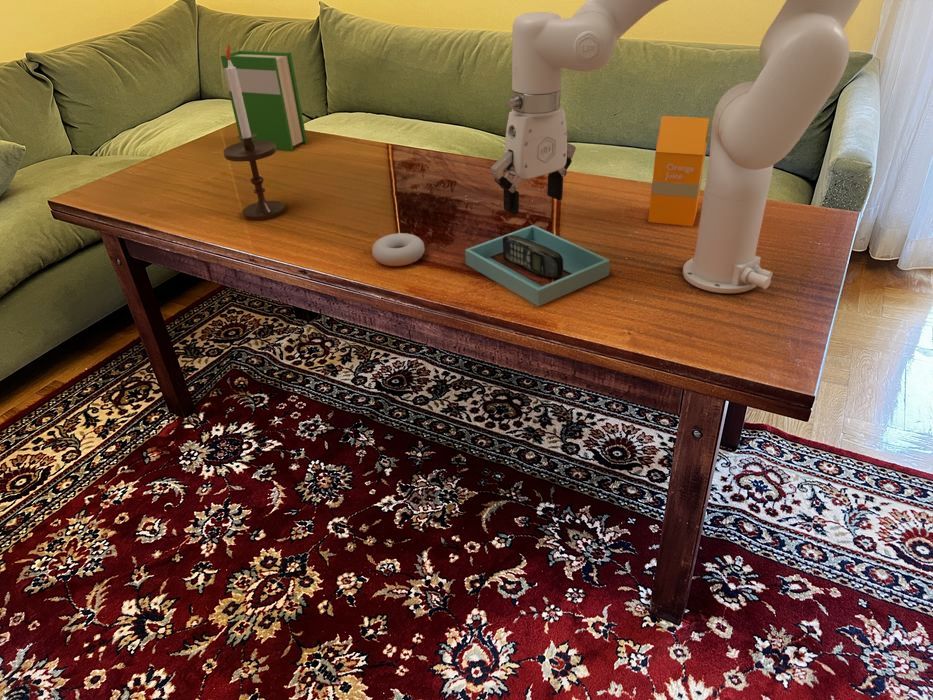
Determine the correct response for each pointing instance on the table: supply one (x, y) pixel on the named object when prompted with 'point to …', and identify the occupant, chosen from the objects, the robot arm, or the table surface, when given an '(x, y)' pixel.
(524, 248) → the mobile phone
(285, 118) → the hardback book
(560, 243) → the rectangular frame
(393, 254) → the donut
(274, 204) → the candlestick
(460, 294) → the table surface
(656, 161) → the orange juice
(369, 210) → the table surface
